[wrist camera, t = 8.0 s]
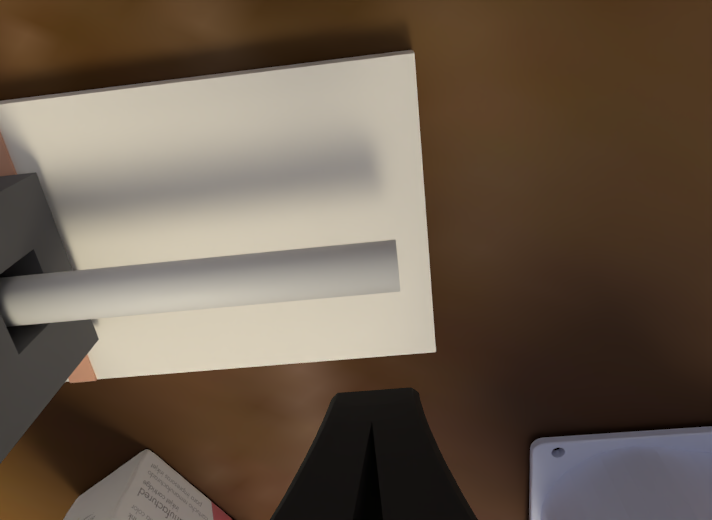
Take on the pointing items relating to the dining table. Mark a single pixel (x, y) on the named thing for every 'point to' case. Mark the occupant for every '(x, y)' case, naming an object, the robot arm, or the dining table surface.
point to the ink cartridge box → (144, 495)
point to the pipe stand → (231, 217)
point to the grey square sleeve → (36, 341)
